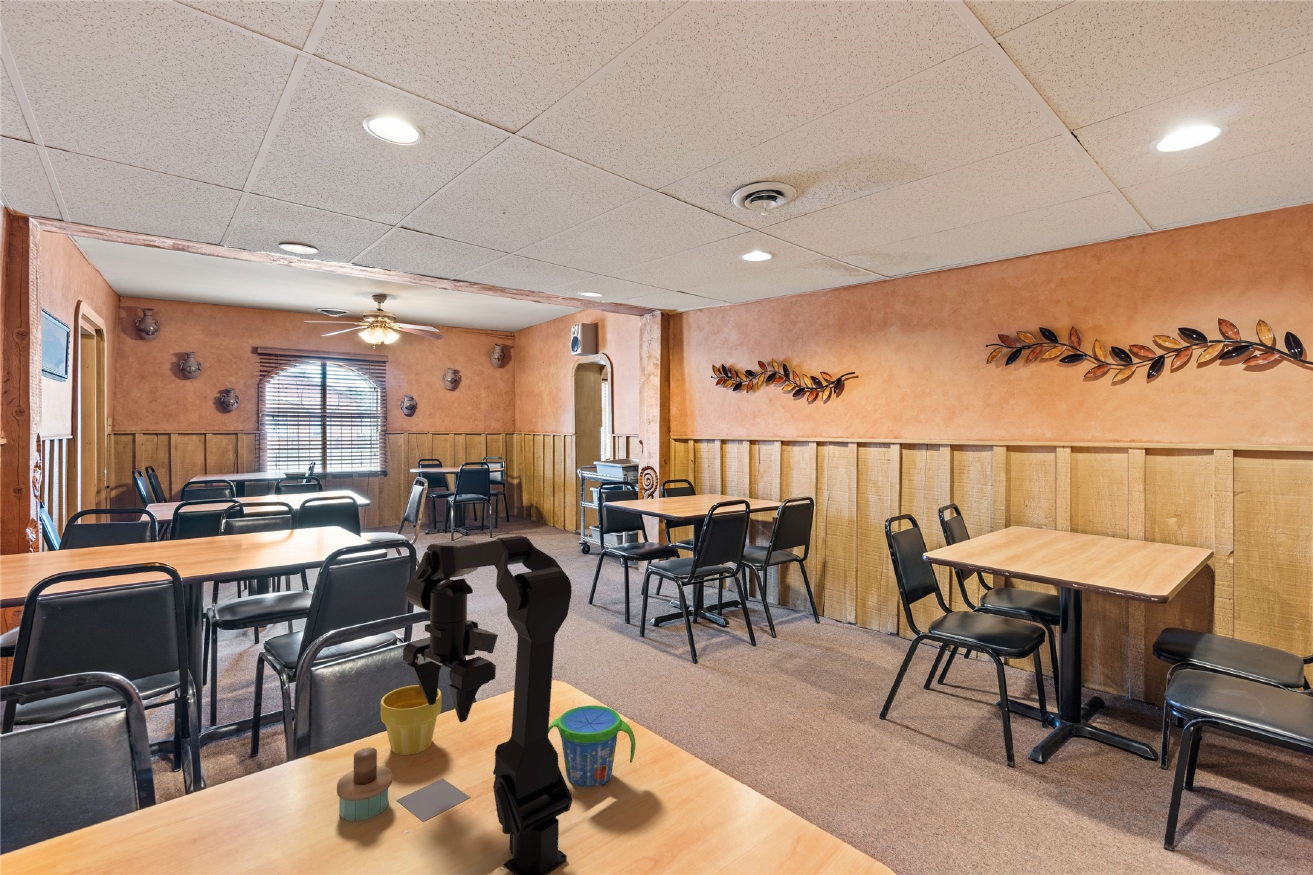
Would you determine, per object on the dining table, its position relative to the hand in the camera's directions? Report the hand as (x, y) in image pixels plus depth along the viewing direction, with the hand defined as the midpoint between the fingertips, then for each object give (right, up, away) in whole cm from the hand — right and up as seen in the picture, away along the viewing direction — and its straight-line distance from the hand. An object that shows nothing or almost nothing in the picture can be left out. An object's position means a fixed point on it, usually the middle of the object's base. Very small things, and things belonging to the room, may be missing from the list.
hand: (447, 712), depth 100 cm
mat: (0, -12, -5) cm, 13 cm away
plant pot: (-10, -12, +11) cm, 19 cm away
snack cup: (+23, -13, +3) cm, 26 cm away
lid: (-10, -8, -7) cm, 15 cm away
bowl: (-10, -12, -7) cm, 17 cm away
